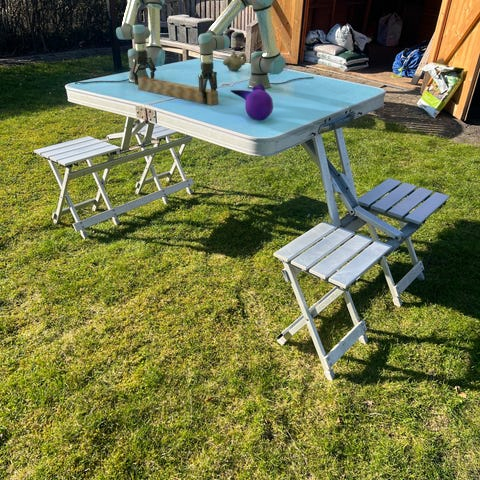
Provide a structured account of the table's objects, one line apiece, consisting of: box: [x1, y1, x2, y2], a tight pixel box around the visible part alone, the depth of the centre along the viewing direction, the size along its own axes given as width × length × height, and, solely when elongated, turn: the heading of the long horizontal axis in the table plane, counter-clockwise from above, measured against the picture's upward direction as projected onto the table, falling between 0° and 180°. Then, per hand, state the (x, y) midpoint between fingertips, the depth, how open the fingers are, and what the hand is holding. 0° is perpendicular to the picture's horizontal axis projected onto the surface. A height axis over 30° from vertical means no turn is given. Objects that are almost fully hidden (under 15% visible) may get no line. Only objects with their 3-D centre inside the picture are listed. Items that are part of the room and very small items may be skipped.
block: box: [137, 77, 219, 106], centre depth 293 cm, size 74×6×8 cm, turn 47°
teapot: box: [222, 51, 247, 72], centre depth 365 cm, size 21×12×15 cm, turn 120°
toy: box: [230, 85, 274, 121], centre depth 242 cm, size 16×18×27 cm
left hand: (145, 83), depth 312 cm, fingers open, 13 cm apart
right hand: (208, 102), depth 276 cm, fingers closed on block, 6 cm apart
